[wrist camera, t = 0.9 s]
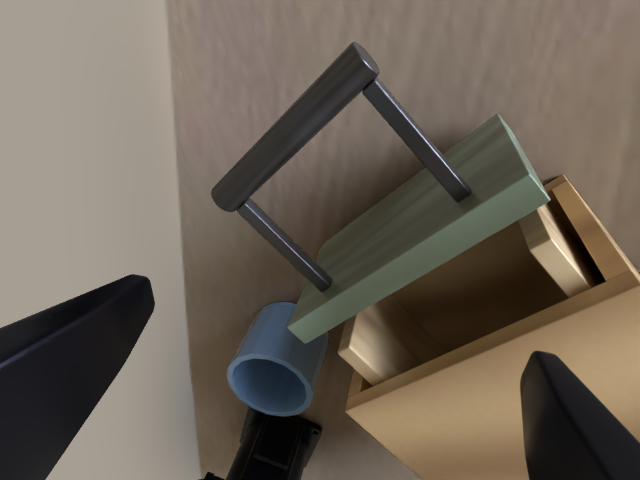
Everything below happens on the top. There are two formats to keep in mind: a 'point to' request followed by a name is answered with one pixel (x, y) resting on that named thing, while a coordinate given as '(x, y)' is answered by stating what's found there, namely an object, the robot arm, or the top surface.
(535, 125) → the top surface
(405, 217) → the drawer
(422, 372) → the cabinet
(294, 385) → the cup
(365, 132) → the top surface
